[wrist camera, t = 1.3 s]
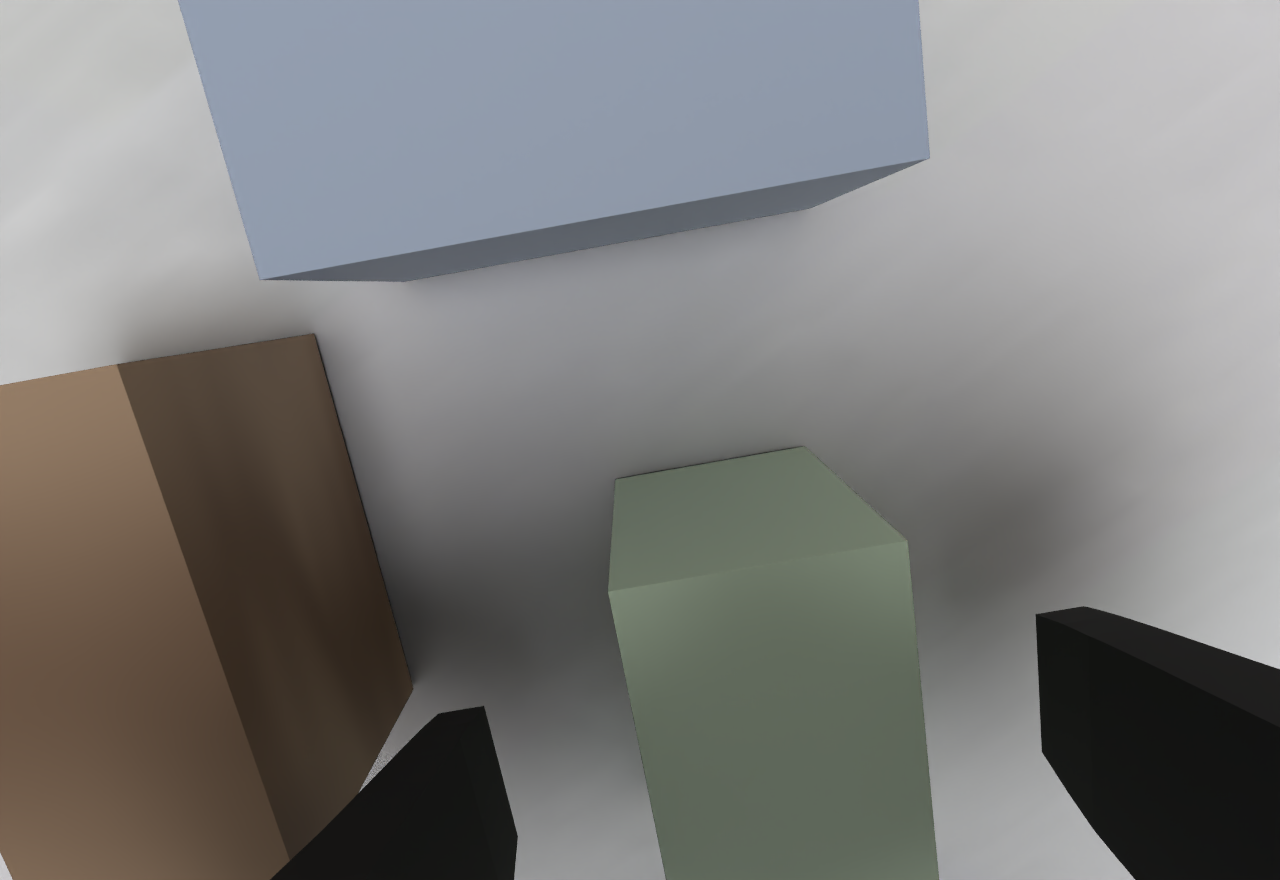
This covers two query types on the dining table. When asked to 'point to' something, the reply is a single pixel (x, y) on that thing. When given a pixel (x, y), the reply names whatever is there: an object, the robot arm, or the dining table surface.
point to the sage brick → (772, 673)
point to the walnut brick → (185, 618)
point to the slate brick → (543, 121)
